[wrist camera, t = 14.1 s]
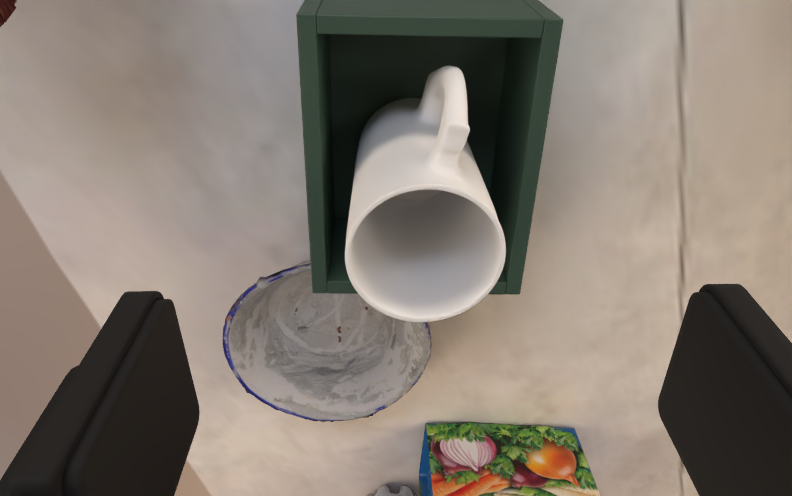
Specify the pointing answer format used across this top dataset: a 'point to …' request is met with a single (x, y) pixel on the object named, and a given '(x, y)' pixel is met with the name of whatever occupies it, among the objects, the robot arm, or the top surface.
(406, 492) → the bottle
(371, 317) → the bowl
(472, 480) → the blue food package
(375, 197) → the mug
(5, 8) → the mug
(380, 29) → the bin
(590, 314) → the top surface
